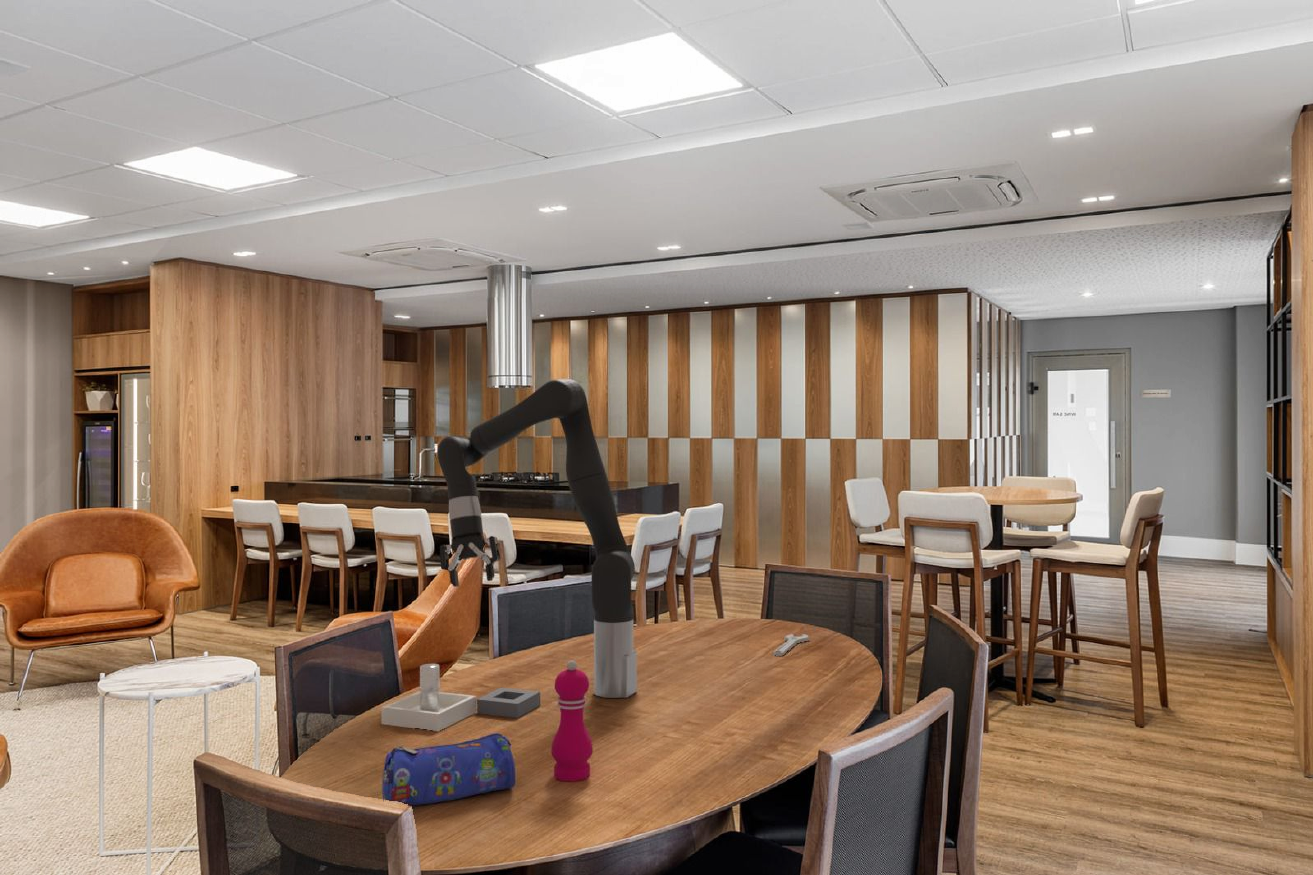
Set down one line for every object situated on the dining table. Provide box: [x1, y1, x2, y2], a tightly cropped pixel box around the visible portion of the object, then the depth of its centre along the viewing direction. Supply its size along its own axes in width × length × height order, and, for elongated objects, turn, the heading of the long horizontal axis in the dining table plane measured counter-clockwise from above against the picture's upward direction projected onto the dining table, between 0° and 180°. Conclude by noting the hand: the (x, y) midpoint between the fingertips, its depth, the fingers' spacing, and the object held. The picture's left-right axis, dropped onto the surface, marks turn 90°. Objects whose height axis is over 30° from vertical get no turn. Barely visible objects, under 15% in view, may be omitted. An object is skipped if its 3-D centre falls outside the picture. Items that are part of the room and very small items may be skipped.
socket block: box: [476, 687, 541, 719], centre depth 195 cm, size 10×10×3 cm
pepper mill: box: [550, 660, 594, 782], centre depth 156 cm, size 7×7×20 cm
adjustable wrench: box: [773, 633, 809, 657], centre depth 255 cm, size 25×6×2 cm, turn 152°
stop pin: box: [419, 663, 440, 712], centre depth 189 cm, size 4×4×10 cm
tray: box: [381, 690, 477, 733], centre depth 189 cm, size 14×14×4 cm
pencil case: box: [381, 732, 516, 807], centre depth 146 cm, size 22×9×10 cm, turn 115°
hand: (473, 583), depth 213 cm, fingers open, 8 cm apart
